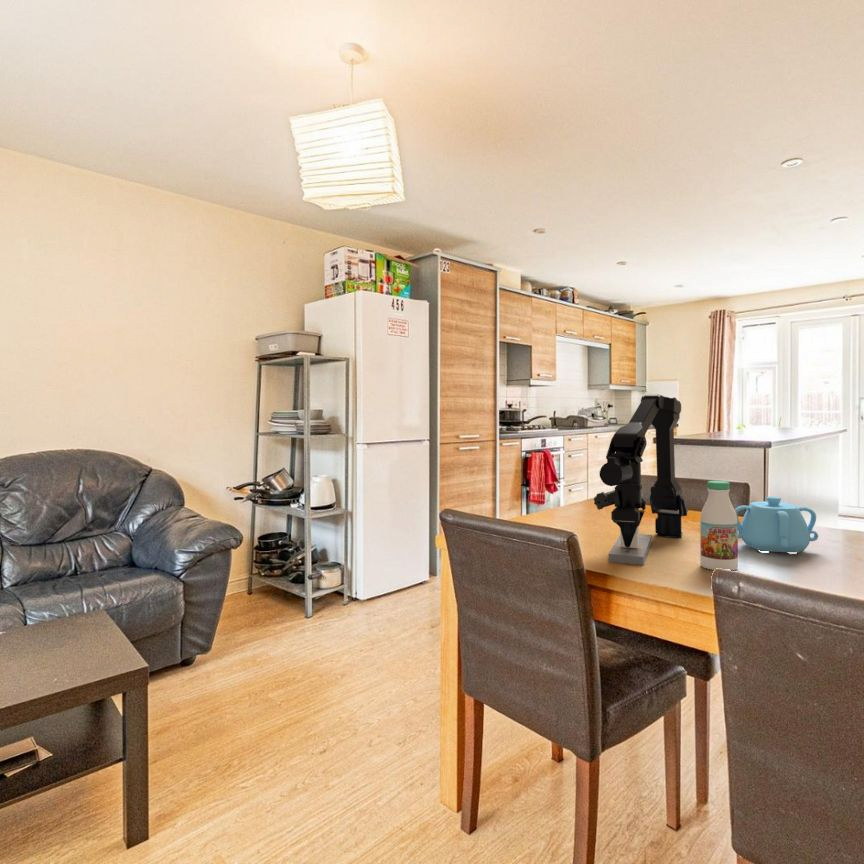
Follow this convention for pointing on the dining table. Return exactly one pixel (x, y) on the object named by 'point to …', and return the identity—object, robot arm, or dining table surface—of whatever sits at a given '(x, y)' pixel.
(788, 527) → the decorative pot
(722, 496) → the milk bottle
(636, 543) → the fader cap
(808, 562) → the dining table surface
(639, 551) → the console
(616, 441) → the robot arm
